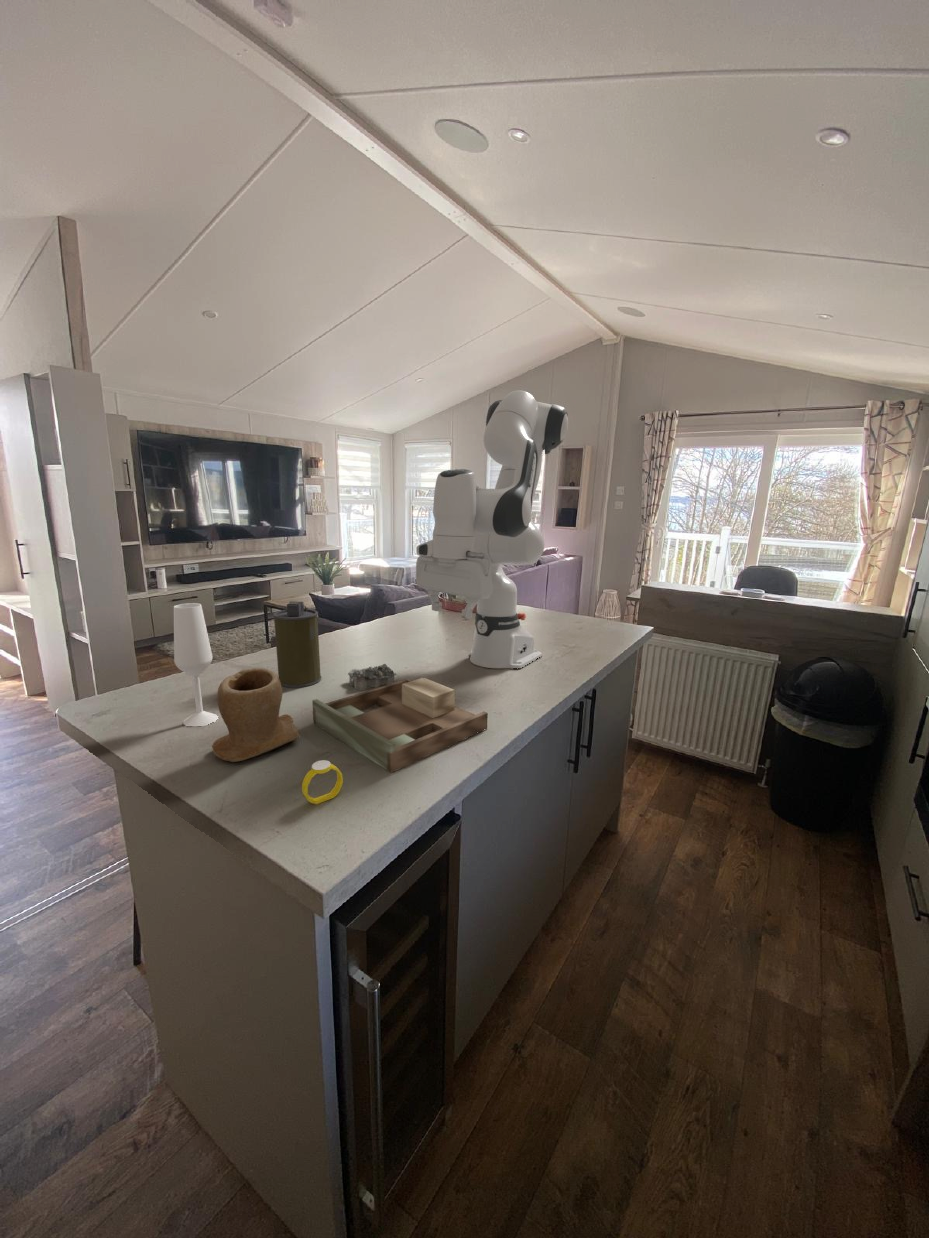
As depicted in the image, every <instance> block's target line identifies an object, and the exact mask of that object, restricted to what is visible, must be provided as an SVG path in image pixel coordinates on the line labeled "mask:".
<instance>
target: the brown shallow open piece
mask: <svg viewBox="0 0 929 1238" xmlns="http://www.w3.org/2000/svg"><path fill="white" fill-rule="evenodd" d="M407 682H410V680H408V679H403V680H400V681H396V682H393V683H392V684H389V685H381V686H379V687H377V688H373V689H370V690H367V691H366V690H365V691H363V692H360V693H355V694H353V695H349V696H346V697H343V698H339V699H337V700H336V699H335V700H333V701H330V702H327V703H325V702H323V701H321V700H320V699H317V698H316V699H313V700H312V717H313V718H312V719H313V721H312V722H313V724H314V725H316V726H317V727H318V728H320V729H322V730H323V731H325V732H326V733H328V734H330V735H331V736H332V737H334V738H335V739H337V740H339V741H341V742H343V743H344V744H345V745H346V746H348V747H349V748H352V750H355V751H356V752H358V753H360V754H361V755H363V756H364V757H365V758H368V759H369V760H370V761H371V762H373V763H375V764H376V765H378V766H380V767H381V768H383V769H385V770H386V771H387V772H389V773H393V772H396V771H398V770H400V769H402V768H405V767H407V766H409V765H411V764H413V763H416V762H417V761H420V760H423V759H425V758H427V757H429V756H431V755H433V754H435V753H437V752H440V751H441V750H444V749H446V747H447V748H449V747H451V746H453V745H455V744H457V742H458V743H459V741H460V742H461V740H462V741H464V740H466V739H468V738H467V737H469V736H471V737H473V736H475V735H477V734H478V733H477V732H480V731H482V730H484V729H486V730H488V717H489V716H488V712H486V711H482V712H480V713H477V714H474V713H472V712H470V711H468V710H465V709H463V708H460V707H458V706H455V705H454V710H453V711H451V712H448V713H445V714H443V715H440V716H438V717H435V718H431V717H429V716H427V715H425V714H423V713H421V712H418V711H416V710H414V709H412V708H410V707H408V706H406V705H404V704H402V684H404V683H407ZM375 706H379V707H378V708H375V709H373V710H372V709H371V710H369V711H366V712H364V711H363V710H366V709H369V708H371V707H375ZM484 731H485V730H484ZM482 732H483V731H482ZM476 733H477V734H476ZM480 733H481V732H480ZM474 734H475V735H474ZM472 735H473V736H472ZM465 738H466V739H465ZM469 738H470V737H469ZM463 739H464V740H463ZM448 746H449V747H448Z"/></svg>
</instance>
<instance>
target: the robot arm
mask: <svg viewBox="0 0 929 1238" xmlns="http://www.w3.org/2000/svg"><path fill="white" fill-rule="evenodd" d="M568 429H569V418H568V411H567V410H566V408H565V407H563V406H562V405H558V404H555V403H553V404H549V403H545V402H541V401H537V400H536V399H535V397H534V396H533V395H532V394H531V393H529V392H527V391H525V390H521V389H519V390H513V391H510V392H508V393H507V394H506V395H505V396H504V397H503V398H502V399H498V400H495V401H494V402H492V404H490V406H489V408H488V410H487V413H486V418H485V430H484V434H483V445H484V448H485V451H486V453H487V454H488V456H489V457H490V458H491V459H492V461H493V460H494V461H495V462H496V463H498V464H499V465H501V468H500V472H499V474H498V477H497V480H496V484H495V487H494V488H481V487H479V486H477V484H476V475H475V472H474V471H472V470H470V469H464V468H463V469H461V468H460V469H457V468H456V469H446V470H443V471H441V472H440V473H438V475H437V476H436V477H437V478H436V481H435V486H434V490H433V491H434V494H433V504H432V505H433V507H432V510H433V511H432V513H433V518H434V527H433V530H432V539H430V540H428V541H426V542H422V543H421V544H418V545H417V546H416V554H417V556H418V557H417V559H416V564H415V582H416V585H417V586H418V588H419V589H423V590H427V595H428V598H429V601H430V602H431V610H432V612H433V611H434V612H441V611H442V610H443V607H442V606H443V603H442V602H441V601H440V598H439V595H440V593H443V594H448V595H452V596H453V595H454V596H458V597H463V598H465V600H464V601H465V603H466V605H465V608H464V609H461V618H463V619H465V620H470V619H472V618H473V611H474V609H475V607H476V612H475V616H474V625H475V629H474V631H473V639H472V648H471V650H470V652H469V656H470V657H469V660H470V662H471V663H472V664H473V665H476V666H478V667H483V668H490V669H513V668H517V669H518V668H521V669H522V667H523V668H524V667H526V666H528V665H529V663H530V664H532V663H533V662H536V661H537V660H538V659H540V658H542V657H543V654H542V652H541V651H539V650H538V649H535V639H534V637H533V635H532V634H531V633H530V632H528V631H527V630H526V629H525V628H523V627H522V626H521V623H520V620H521V621H525V620H526V618H527V614H526V613H522V612H518V613H517V604H518V603H517V601H518V588H517V585H516V583H515V582H514V581H513V580H512V579H511V578H509V577H508V576H507V575H506V573H505V571H504V570H503V567H502V565H509V566H518V567H519V566H527V565H534V564H535V563H537V562H538V561H540V558H541V557H542V556H543V554H544V550H545V539H544V535H543V533H542V531H541V530H540V529H539V527H537V526H536V525H535V523H534V520H533V517H532V508H533V503H534V498H535V495H536V491H537V487H538V484H539V480H540V475H541V470H542V463H543V452H544V454H545V455H549V454H550V453H551V451H552V450H554V449H556V448H557V447H559V445H560V446H561V443H563V441H564V439H565V438H566V435H567V433H568V431H569V430H568ZM541 656H542V657H541ZM539 657H540V658H539ZM537 658H538V659H537ZM536 659H537V660H536ZM532 661H533V662H532ZM527 664H528V665H527ZM525 665H526V666H525ZM517 669H516V670H517ZM518 670H519V669H518Z"/></svg>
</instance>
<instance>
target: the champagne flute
mask: <svg viewBox="0 0 929 1238" xmlns="http://www.w3.org/2000/svg"><path fill="white" fill-rule="evenodd" d="M204 615H205V614H204V610H203V606H202V604H201V603H197V602H192V603H191V602H189V603H188V602H186V603H180V604H177V605H174V606H173V652H174V653H173V660H174V662H173V663H174V665H175V666H176V667H177V669H179V670H180V671H182V672H183V673H185V674H186V675H188V676H190V677H192V684H193V693H194V701H195V710H196V711H195V712H194V713H193V714H191V715H189V716H188V717H187V718H185V719H184V720H183V721H184V724H185V725H186V726H202V727H205V726H208V724H209V725H211V724H210V723H212V722H214V723H216V722H217V721H218V720H219V718H218V717H219V715H218V714H215V713H212V712H208V711H205V710H204V709H203V699H202V692H201V691H202V690H201V682H200V675H202V674H203V673H204V672H205V670H206V669H208V668H209V666H210V665H211V663H212V661H213V652H212V648H211V644H210V639H209V635H208V630H207V625H206V620H205V616H204ZM217 715H218V716H217ZM217 719H218V720H217ZM216 720H217V721H216ZM212 724H213V723H212ZM186 726H185V727H186Z"/></svg>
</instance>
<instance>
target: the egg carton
mask: <svg viewBox="0 0 929 1238" xmlns="http://www.w3.org/2000/svg"><path fill="white" fill-rule="evenodd" d="M347 675H348V676H349V679H348V680H349V685H350V686H354V690H356V691H357V690H361V691H366V690H367V689H368V688H374V689H376V688H379V687H381V686H386V685H389V684H392V683H395V676H397V673H395V672H394V670H393V669H392V668H390V666H388V665H387V664H386V663H383V664H380V665H378V666H373V667H372V666H369V667H366V668H365V667H364V668H362V669H358V668H357V669H356V668H354V669H351V670H350V671H349V672H348V673H347Z"/></svg>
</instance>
